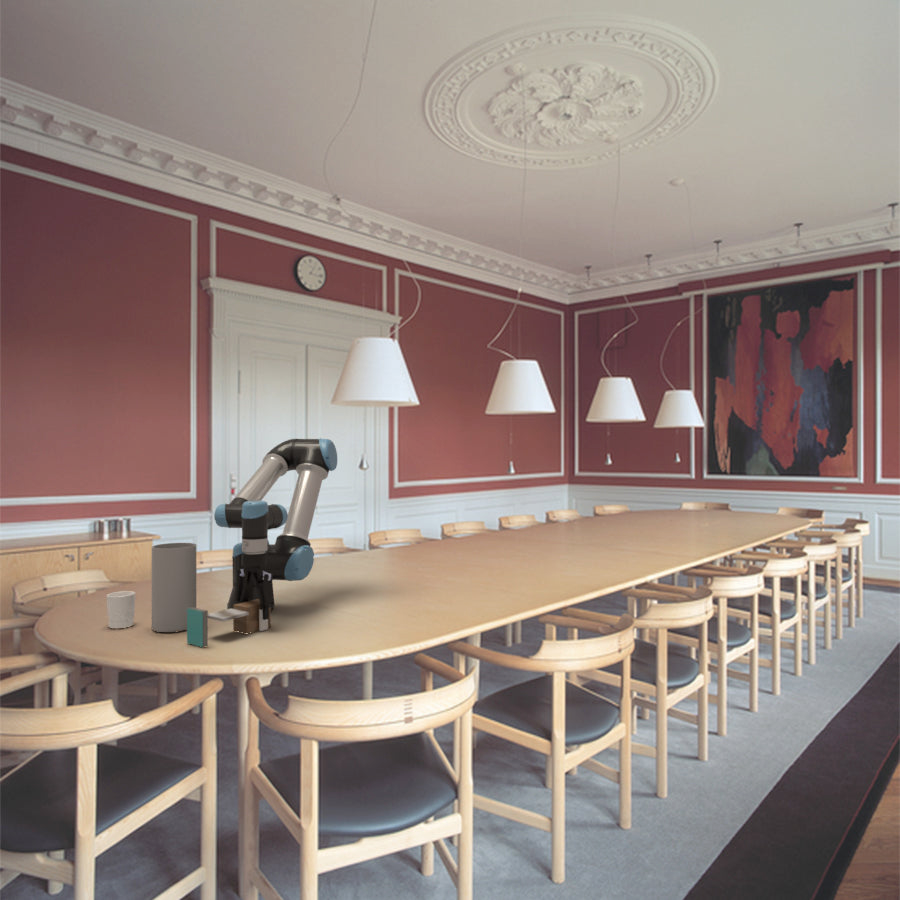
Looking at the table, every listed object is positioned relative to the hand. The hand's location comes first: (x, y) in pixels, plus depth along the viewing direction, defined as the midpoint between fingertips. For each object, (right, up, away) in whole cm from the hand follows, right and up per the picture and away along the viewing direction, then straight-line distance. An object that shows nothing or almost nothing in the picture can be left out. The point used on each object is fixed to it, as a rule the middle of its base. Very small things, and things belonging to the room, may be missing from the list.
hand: (254, 627), depth 198 cm
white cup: (-42, 0, +2) cm, 42 cm away
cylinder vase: (-25, 0, +1) cm, 25 cm away
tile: (-11, 0, -16) cm, 20 cm away
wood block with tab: (-3, 0, -4) cm, 5 cm away
